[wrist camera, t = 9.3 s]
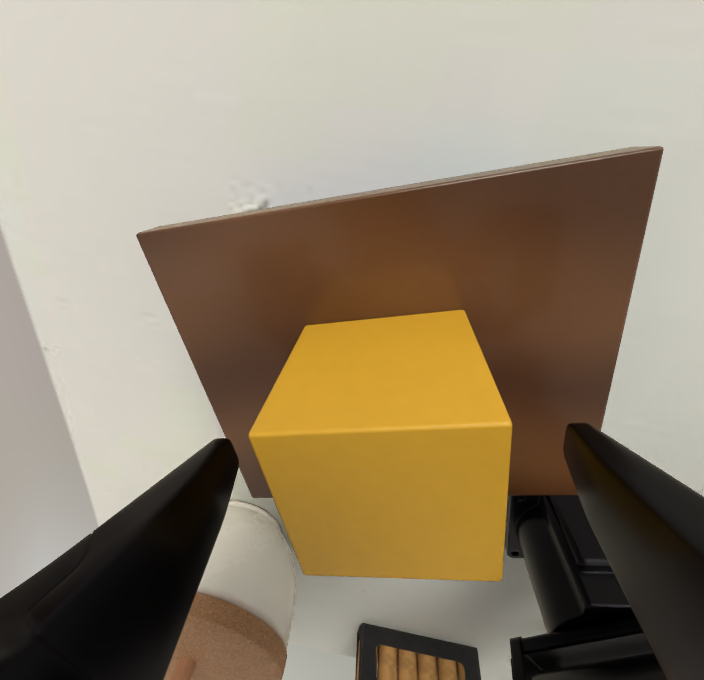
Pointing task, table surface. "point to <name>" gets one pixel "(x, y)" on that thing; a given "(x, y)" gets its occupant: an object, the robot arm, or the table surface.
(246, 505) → the trinket box
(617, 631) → the robot arm
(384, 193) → the board
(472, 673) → the ammunition clip
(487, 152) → the table surface
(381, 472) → the yellow block
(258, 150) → the table surface
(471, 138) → the table surface
